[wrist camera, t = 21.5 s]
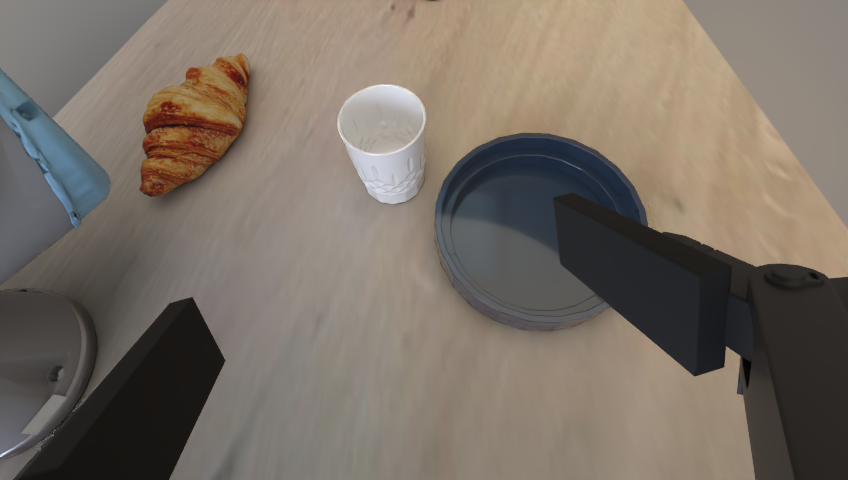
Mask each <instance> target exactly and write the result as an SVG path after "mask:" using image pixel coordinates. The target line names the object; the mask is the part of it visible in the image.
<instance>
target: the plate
mask: <svg viewBox="0 0 848 480" xmlns="http://www.w3.org/2000/svg"><path fill="white" fill-rule="evenodd" d="M572 192H573V193H576V194H578V195H580V196H582V197H584V198H586V199H589V200H591V201H593V202H595V203H597V204H599V205H602V206H604V207H606V208H608V209H610V210H612V211H615V212H617V213H619V214H621V215H623V216H625V217H628V218H630V219H632V220H634V221H636V222H638V223H641V224H643V225H645V226H647V227H648V223H647V217H646V212H645V208H644V206H643V204H642V202H641V200H640V198H639V196H638V194H637V192H636V190H635V187H634V186H633V185H632V183H631V182H630V181H629V180H628V179H627V177H626V176H625V175H624V174H623V173H622V172H621V170H620V169H619V168H618V167H617V166H616V165H615V164H613V163H612V162H611V161H609V160H608V159H607V158H605V157H604V156H603V155H601V154H600V153H599V152H598V151H596V150H594V149H592V148H590V147H588V146H586V145H583V144H581V143H579V142H577V141H575V140H572V139H569V138H564V137H560V136H556V135H551V134H542V133H519V134H514V135H509V136H504V137H499V138H496V139H494V140H492V141H490V142H487V143H485V144H483V145H481V146H478V147H477V148H475V149H474V150H472V151H471V152H470V153H469V154H467V155H466V156H465V157H464V158H462V159H461V160H460V161H459V162H458V163H457V164H456V165H455V167H454V168H453V169H452V171H451V172H450V173H449V175H448V176H447V177H446V179H445V180H444V182H443V185H442V188H441V190H440V193H439V196H438V199H437V201H436V212H435V242H436V247H437V251H438V255H439V259H440V264H441V266H442V268H443V270H444V271H445V273H446V275H447V277H448V279H449V280H450V282H451V284H452V286H453V287H454V288H455V289H456V290H457V291H458V293H459V294H460V295H461V296H462V297H463V298H464V299H465V300H466V301H467V302H468V303H469V304H470V305H471V306H472V307H474V308H475V309H477V310H479V311H480V312H482V313H483V314H485V315H487V316H488V317H490V318H491V319H493V320H495V321H497V322H500V323H504V324H507V325H510V326H513V327H516V328H519V329H524V330H542V331H553V330H558V329H562V328H567V327H572V326H576V325H579V324H581V323H583V322H585V321H587V320H588V319H590V318H592V317H594V316H596V315H598V314H599V313H601V312H603V311H604V310H606V309H608V308H609V307H611V306H610V305H609V304H608V303H606V302H605V301H604V300H603V299H602V298H600V297H599V296H598V295H597V294H596V293H594V292H593V291H592V290H591V289H590V288H588V287H587V286H586V285H585V284H584V283H582V282H581V281H580V280H579V279H578V278H576V277H575V276H574V275H573V274H572V273H570V272H569V271H568V270H567V269H566V268H564V267H563V266H562V265H561V264H560V257H559V248H558V238H557V229H556V220H555V210H554V201H553V198H554V197H557V196H561V195H564V194H568V193H572Z"/></svg>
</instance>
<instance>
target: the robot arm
mask: <svg viewBox="0 0 848 480" xmlns="http://www.w3.org/2000/svg"><path fill="white" fill-rule="evenodd" d="M110 185H111V182H110V179H109V176H108V174H107V173H106V172H105V170H104V169H103V168H102V167H101V166H100V165H99V164H98V163H97V162H96V161H95V160H94V159H93V158H92V157H91V156H90V155H89V154H88V153H87V152H86V151H85V150H84V149H83V148H82V147H81V146H80V145H79V144H78V143H77V142H75V141H74V140H73V139H72V138H71V137H70V136H69V135H68V134H67V133H66V132H65V131H64V130H63V129H62V128H61V127H60V126H59V125H58V124H57V123H56V122H55V121H54V120H53V119H52V118H51V117H50V116H49V115H48V114H46V112H44V110H42V109H41V108H40V107H39V106H38V105H37V104H36V103H35V102H34V101H33V100H32V99H31V98H30V97H29V96H28V95H27V94H26V93H25V92H24V91H23V90H22V89H21V88H20V87H19V86H18V85H17V84H16V83H15V82H14V81H13V80H12V79H11V78H10V77H8V76H7V75H6V74H5V73H4V72H3V71H2V70H1V69H0V285H1V284H2V283H3V282H5V281H6V280H7V279H9V278H10V277H11V276H12V275H14V274H15V273H16V272H18V271H19V270H20V269H22V268H23V267H24V266H25V265H27V264H28V263H29V262H31V261H32V260H33V259H34V258H36V257H37V256H38V255H40V254H41V253H42V252H43V251H45V250H46V249H47V248H49V247H50V246H51V245H52V244H54V243H55V242H56V241H58V240H59V239H60V238H61V237H63V236H64V235H65V234H67V233H68V232H69V231H70V230H72V229H73V228H74V229H76V228H77V227H79V225H80V224H81V220H82V219H83V218H84V217H85V216H86V215H88V214H89V213H90V212H91V211H92V210H93V209H95V208H96V207H97V206H98V205H99V204H100V203H101V202H103V201H104V200H105V199H106V198H107V196H108V194H109V192H110ZM553 201H554V210H555V220H556V229H557V238H558V248H559V257H560V264H561V265H562V266H563V267H564V268H566V269H567V270H568V271H569V272H570V273H572V274H573V275H574V276H575V277H576V278H578V279H579V280H580V281H581V282H582V283H584V284H585V285H586V286H587V287H588V288H590V289H591V290H592V291H593V292H594V293H596V294H597V295H598V296H599V297H600V298H602V299H603V300H604V301H605V302H606V303H608V304H609V305H610V306H611V307H612V308H613V309H615V310H616V311H617V312H618V313H619V314H621V315H622V316H623V317H624V318H625V319H627V320H628V321H629V322H630V323H631V324H633V325H634V326H635V327H636V328H637V329H639V330H640V331H641V332H642V333H643V334H645V335H646V336H647V337H648V338H649V339H651V340H652V341H653V342H654V343H655V344H657V345H658V346H659V347H660V348H661V349H663V350H664V351H665V352H666V353H667V354H668V355H670V356H671V357H672V358H673V359H674V360H676V361H677V362H678V363H679V364H680V365H682V366H683V367H684V368H685V369H686V370H688V371H689V372H690V373H691V374H692V375H694V376H698V375H701V374H704V373H707V372H710V371H714V370H717V369H720V368H723V367H724V363H725V350H726V346H727V347H728V348H730V349H731V350H733V351H734V352H736V353H737V354H739V355H740V356H741V358H740V369H739V379H738V389H737V394H741V395H743V396H744V403H745V410H746V417H747V424H748V431H749V438H750V444H751V451H752V458H753V465H754V472H755V479H756V480H848V277H842V278H830V279H829V278H828V277H827V276H826V275H824V274H822V273H820V272H818V271H816V270H814V269H810V268H806V267H802V266H798V265H789V264H767V265H763V266H758V267H755V266H753V265H751V264H748V263H746V262H744V261H741V260H739V259H737V258H735V257H732V256H730V255H728V254H725V253H723V252H721V251H719V250H714V249H713V248H712V247H709V246H707V245H705V244H702V245H701V243H700V242H698V241H696V240H693V239H691V238H689V237H687V236H683V235H678V234H673V233H669V232H663V233H660V232H658V231H656V230H654V229H651V228H649V227H647V226H645V225H643V224H641V223H638V222H636V221H634V220H632V219H630V218H628V217H625V216H623V215H621V214H619V213H617V212H615V211H612V210H610V209H608V208H606V207H604V206H602V205H599V204H597V203H595V202H593V201H591V200H589V199H586V198H584V197H582V196H580V195H578V194H576V193H573V192H572V193H568V194H564V195H561V196H557V197H554V198H553ZM95 355H96V335H95V330H94V326H93V323H92V321H91V319H90V317H89V315H88V314H87V312H86V311H85V310H84V308H83V307H82V306H80V305H79V304H78V303H77V302H75V301H74V300H72V299H70V298H68V297H66V296H63V295H60V294H56V293H53V292H50V291H46V290H41V289H28V288H21V289H8V290H3V291H0V461H1V460H4V459H8V458H10V457H13V456H15V455H17V454H19V453H21V452H23V451H25V450H27V449H29V448H30V447H32V446H34V445H35V444H37V443H38V442H40V441H41V440H42V439H44V438H45V437H46V436H47V435H49V434H50V433H51V432H52V431H53V430H54V429H55V428H56V427H57V426H58V425H59V424H60V423H61V422H62V421H63V420H64V419H65V418H66V416H67V415H68V414H69V413H70V412H71V410H72V409H73V407H74V406H75V405H76V403H77V402H78V400H79V398H80V397H81V395H82V393H83V391H84V389H85V387H86V385H87V383H88V381H89V378H90V376H91V373H92V370H93V366H94V361H95ZM224 362H225V359H224V357H223V355H222V353H221V351H220V349H219V347H218V346H217V344H216V342H215V340H214V338H213V336H212V334H211V332H210V330H209V328H208V326H207V324H206V322H205V321H204V319H203V317H202V315H201V313H200V311H199V309H198V307H197V305H196V303H195V301H194V299H193V298H192V297H191V298H187V299H184V300H180V301H177V302H173V303H170V304H169V305H168V306H167V307H166V308H165V309H164V311H163V312H162V313H161V314H160V315H159V316H158V318H157V319H156V320H155V321H154V322H153V323H152V324H151V326H150V327H149V328H148V329H147V330H146V331H145V333H144V334H143V335H142V336H141V337H140V338H139V340H138V341H137V342H136V343H135V344H134V345H133V346H132V348H131V349H130V350H129V351H128V352H127V353H126V355H125V356H124V357H123V358H122V359H121V360H120V362H119V363H118V364H117V365H116V366H115V367H114V368H113V370H112V371H111V372H110V373H109V374H108V375H107V377H106V378H105V379H104V380H103V381H102V382H101V383H100V385H99V386H98V387H97V388H96V389H95V390H94V392H93V393H92V394H91V395H90V396H89V397H88V399H87V400H86V401H85V402H84V403H83V404H82V405H81V406H80V407H79V408H78V409H77V410H76V411H74V412H73V413H72V414H71V415H69V416H68V417H67V419H66V420H65V421H64V422H63V423H62V424H61V425H60V427H59V428H58V429H57V430H56V431H55V432H54V433H53V434H54V436H52V437H50V438H49V439H48V440H47V441H46V443H45V444H44V445H43V446H42V447H41V451H38V452H37V453H36V454H35V455H34V456H33V457H32V459H31V460H30V461H29V462H28V463H27V464H26V465H25V467H24V468H23V469H22V470H21V471H20V472H19V473H18V475H17V476H16V477H15V478H14V479H13V480H169V478H170V476H171V474H172V472H173V470H174V468H175V466H176V464H177V462H178V459H179V457H180V455H181V453H182V451H183V449H184V447H185V445H186V443H187V440H188V438H189V436H190V434H191V432H192V430H193V428H194V426H195V424H196V421H197V419H198V417H199V415H200V413H201V411H202V409H203V407H204V405H205V403H206V400H207V398H208V396H209V394H210V392H211V390H212V388H213V386H214V384H215V381H216V379H217V377H218V375H219V373H220V371H221V369H222V367H223V365H224Z"/></svg>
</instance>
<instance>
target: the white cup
mask: <svg viewBox="0 0 848 480" xmlns="http://www.w3.org/2000/svg"><path fill="white" fill-rule="evenodd" d="M337 125H338V131H339V134H340V136H341V138H342V140H343V142H344V145H345V147H346V149H347V151H348V153H349V156H350V158H351V161H352V163H353V164H354V166H355V169H356V171H357V173H358V175H359V177H360V178H361V179H362V181H363V183H364V185H365V187H366V189H367V191H368V193H369V195H371V196H372V197H374V198H375V199H376V200H378V201H379V202H383V203H388V204H397V203H402V202H406V201H408V200H409V199H411V198H412V197H414V196H415V195H416V194H418V192H419V190H420V188H421V187H422V185H423V183H424V166H425V157H426V112H425V108H424V105H423V103H422V102H421V100H420V99H419V98H418V97H417V96H416V95H415V94H414V93H413V92H411V91H410V90H408V89H406V88H404V87H401V86H397V85H391V84H379V85H373V86H369V87H366V88H364V89H361V90H359V91H358V92H356V93H354V94H353V95H352V96H350V97H349V98H348V99H347V100H346V102H345V103H344V104H343V106H342V107H341V109H340V112H339V115H338V120H337Z"/></svg>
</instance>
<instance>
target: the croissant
mask: <svg viewBox="0 0 848 480" xmlns="http://www.w3.org/2000/svg"><path fill="white" fill-rule="evenodd" d="M249 76H250V64H249V61H248V59H247V57H246V56H245V55H244V54H242V53H241V54H238V55H237V56H236V57H235V56H229V57H220V58H218V59H217V60H216V62H215V63H214V64H213V65H208V66H206V67H203V68H202V67H197V68H193V67H192V68H189V69H188V71H187V72H186V82H185V84H183V83H182V85H181V86H179V87H178V86H170V87H166V88H164V89H162V90H161V91H160V92H158V93H157V94H154V95H153V96H152V98H151V99H150V101H149V103H148V106H147V110H146V111H145V113H144V116H143V123H144V126H145V131H146V133H147V135H146V137H145V138H144V140H143V149H144V151H145V154H146V155H147V157H148V159H147V160H144V161H143V163H142V167H141V179H142V184H141V187H140V191H141V192H143V193H144V194H146V195H148V196H150V197H152V196H161V195H163V194H166V193H168V192H169V191H171V190H172V189H174V188H176V187H178V186H179V185H180V184H182V183H186V182H188V181H191V180H193V179H195V178H198V177H199V176H200V175H201V174H203V173H204V171H205V170H206V169H207V168H208V167H209V166H210V165H211V164H213V163H215V162H216V161H218V160H219V159H220V158H221V157H222V156H223V154H224V153H225V152H226V151H227V149H228V147H229V145H230V144H231V143H232V142H233V141H234V140H235V139H236V137H237V136H238V135H239V134H240V132H241V130H242V127H243V125H244V122H245V118H246V109H245V106H244V105H245V104H246V102H247V94H248V88H247V82H248V81H249Z"/></svg>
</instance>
